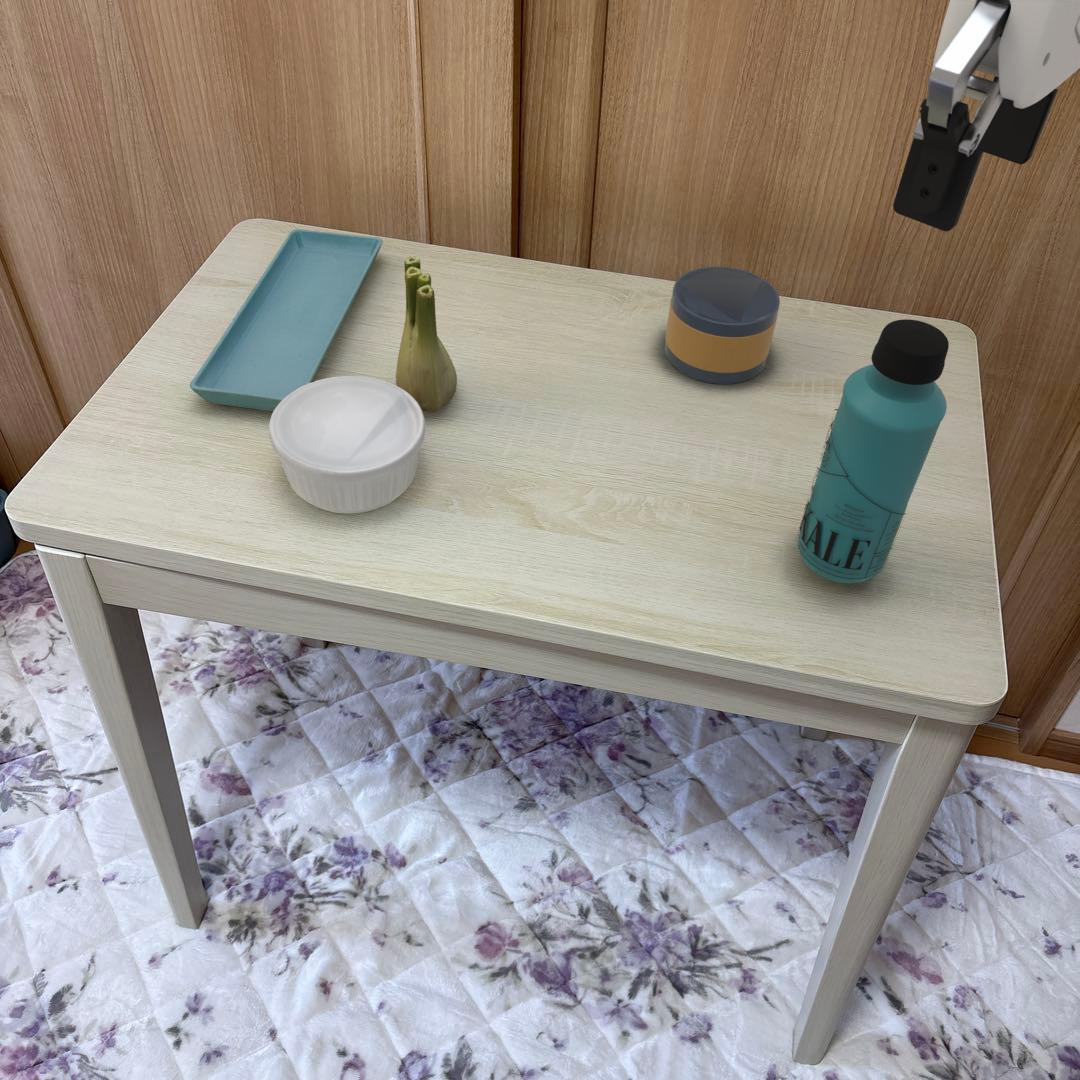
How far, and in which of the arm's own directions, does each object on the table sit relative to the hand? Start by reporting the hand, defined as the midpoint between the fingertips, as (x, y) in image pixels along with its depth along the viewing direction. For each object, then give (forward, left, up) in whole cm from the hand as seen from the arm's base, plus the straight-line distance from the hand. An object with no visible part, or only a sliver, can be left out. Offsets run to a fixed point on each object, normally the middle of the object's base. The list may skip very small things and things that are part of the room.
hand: (962, 185), depth 55 cm
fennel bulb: (+22, -27, -29) cm, 45 cm away
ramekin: (+30, -20, -29) cm, 46 cm away
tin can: (-4, -26, -29) cm, 39 cm away
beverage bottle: (0, 0, -29) cm, 29 cm away
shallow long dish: (+30, -41, -29) cm, 58 cm away
